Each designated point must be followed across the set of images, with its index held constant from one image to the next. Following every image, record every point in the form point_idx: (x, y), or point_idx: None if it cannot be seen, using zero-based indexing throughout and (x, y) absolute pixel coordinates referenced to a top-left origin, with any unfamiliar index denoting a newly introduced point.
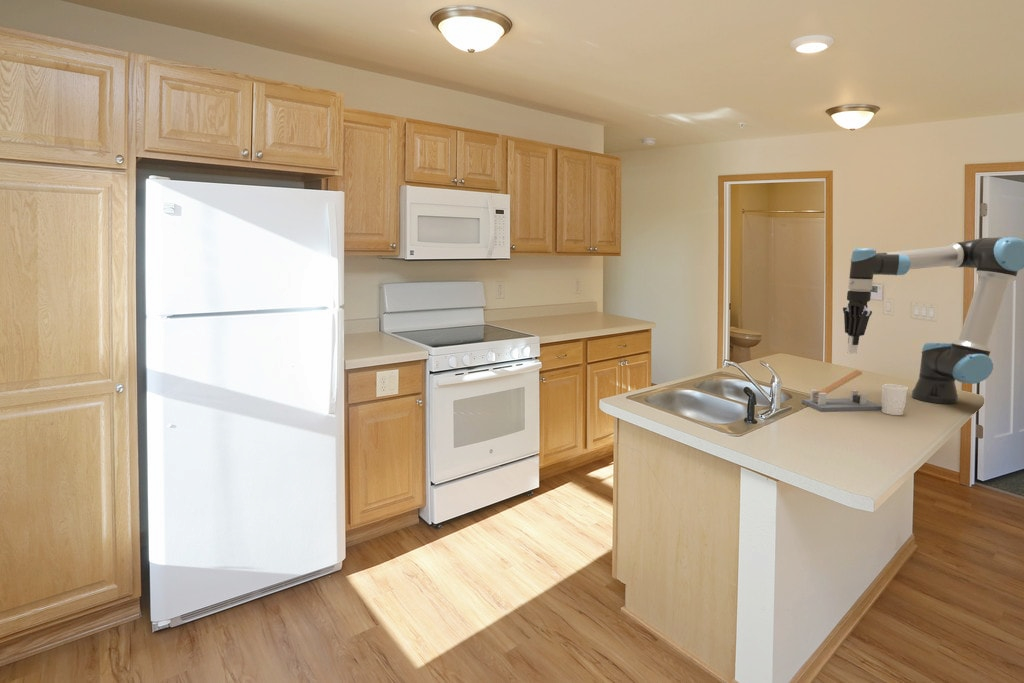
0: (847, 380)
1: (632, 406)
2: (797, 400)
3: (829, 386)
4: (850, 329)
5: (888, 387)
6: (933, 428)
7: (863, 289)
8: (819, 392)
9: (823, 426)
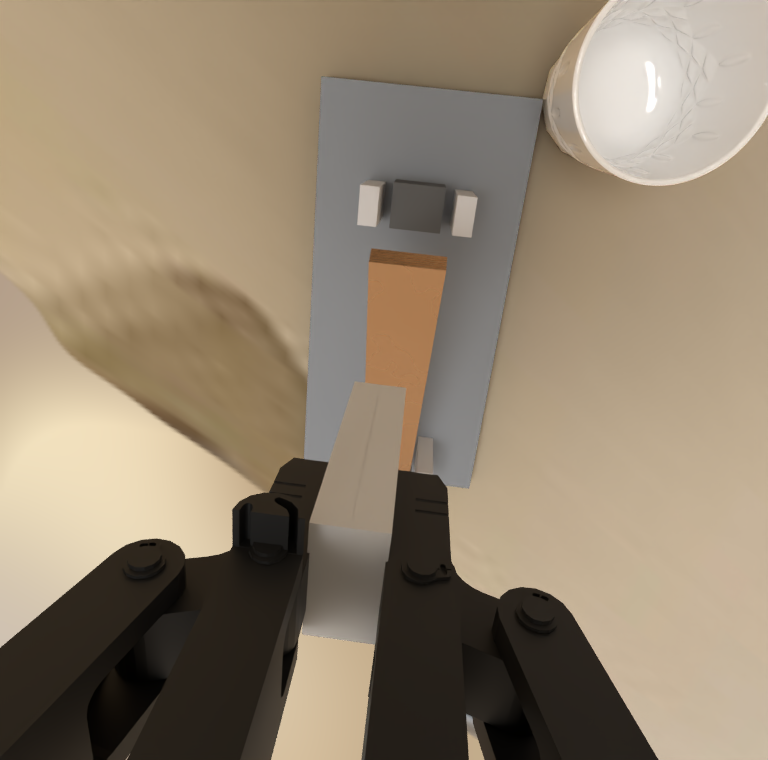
0: (428, 366)
1: None
2: (257, 442)
3: None
4: (272, 751)
5: (679, 180)
6: None
7: None
8: None
9: (657, 612)
